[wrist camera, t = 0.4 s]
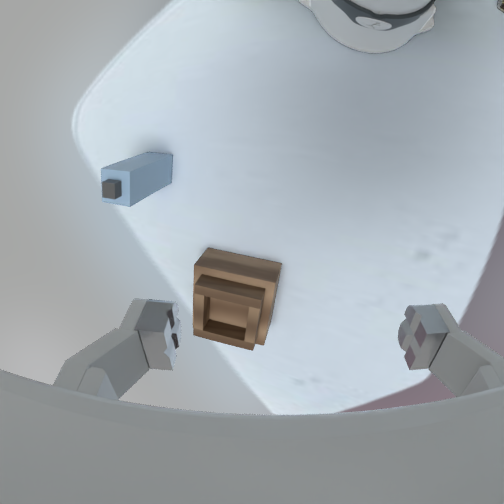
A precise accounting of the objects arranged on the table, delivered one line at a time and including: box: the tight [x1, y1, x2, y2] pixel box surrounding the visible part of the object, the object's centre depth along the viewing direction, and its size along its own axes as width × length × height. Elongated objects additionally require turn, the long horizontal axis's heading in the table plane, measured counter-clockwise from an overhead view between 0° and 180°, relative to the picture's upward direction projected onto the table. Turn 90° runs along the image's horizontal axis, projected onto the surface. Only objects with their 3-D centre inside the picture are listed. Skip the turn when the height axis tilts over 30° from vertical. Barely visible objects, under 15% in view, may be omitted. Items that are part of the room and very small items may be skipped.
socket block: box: [193, 248, 282, 350], centre depth 50 cm, size 12×12×9 cm
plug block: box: [101, 152, 173, 207], centre depth 42 cm, size 4×4×14 cm
